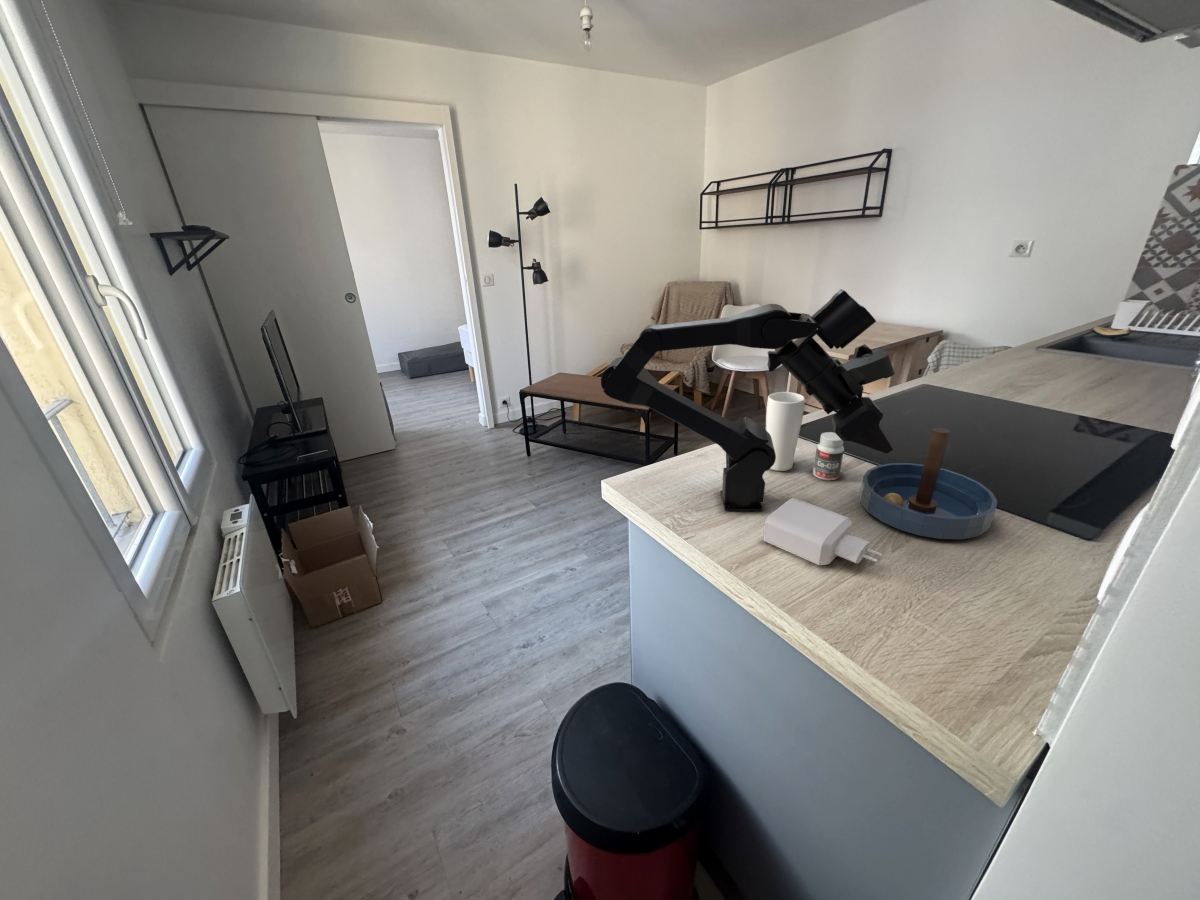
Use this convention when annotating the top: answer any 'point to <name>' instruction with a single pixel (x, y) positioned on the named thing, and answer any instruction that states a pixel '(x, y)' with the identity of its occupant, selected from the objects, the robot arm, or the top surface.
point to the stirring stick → (930, 473)
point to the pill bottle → (828, 457)
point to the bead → (894, 498)
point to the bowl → (957, 496)
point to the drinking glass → (784, 426)
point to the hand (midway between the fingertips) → (881, 439)
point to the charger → (815, 534)
